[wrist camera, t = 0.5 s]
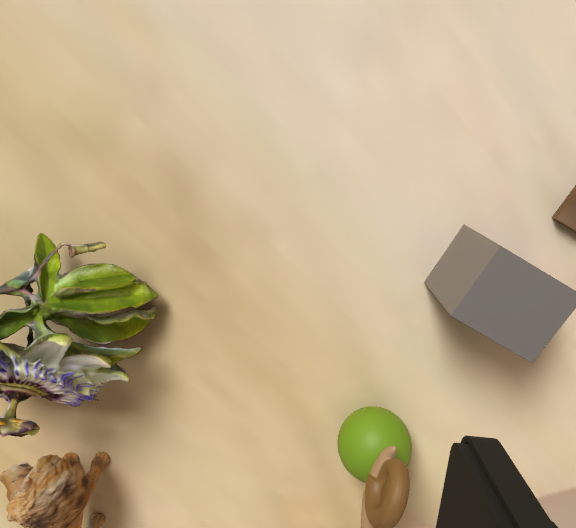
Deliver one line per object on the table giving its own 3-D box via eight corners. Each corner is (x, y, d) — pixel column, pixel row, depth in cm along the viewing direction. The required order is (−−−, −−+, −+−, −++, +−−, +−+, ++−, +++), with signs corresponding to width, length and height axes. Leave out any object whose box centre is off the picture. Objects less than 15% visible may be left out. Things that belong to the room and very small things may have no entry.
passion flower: (99, 331, 45) (-57, 429, 36) (51, 203, 40) (-146, 280, 31) (198, 365, 38) (34, 500, 29) (154, 215, 33) (-62, 320, 23)
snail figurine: (321, 451, 41) (328, 579, 29) (349, 384, 39) (368, 490, 28) (384, 471, 41) (415, 605, 29) (414, 405, 39) (459, 519, 28)
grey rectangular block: (463, 224, 36) (500, 245, 29) (546, 274, 36) (601, 306, 30) (424, 282, 37) (450, 315, 30) (504, 329, 38) (548, 372, 31)
